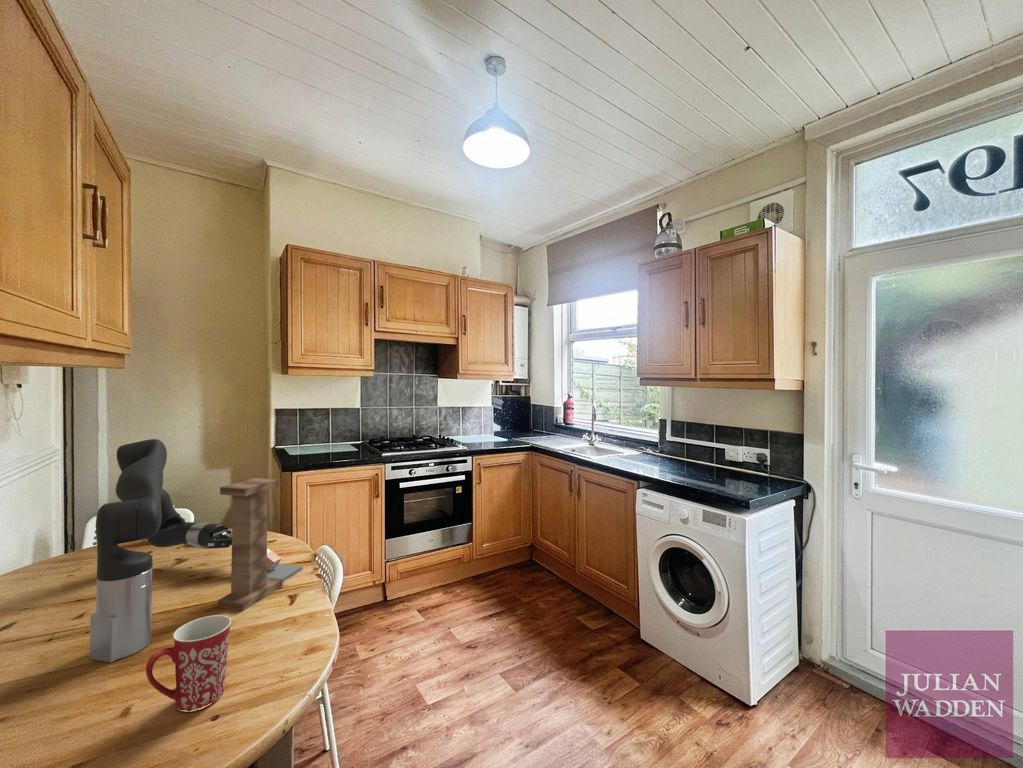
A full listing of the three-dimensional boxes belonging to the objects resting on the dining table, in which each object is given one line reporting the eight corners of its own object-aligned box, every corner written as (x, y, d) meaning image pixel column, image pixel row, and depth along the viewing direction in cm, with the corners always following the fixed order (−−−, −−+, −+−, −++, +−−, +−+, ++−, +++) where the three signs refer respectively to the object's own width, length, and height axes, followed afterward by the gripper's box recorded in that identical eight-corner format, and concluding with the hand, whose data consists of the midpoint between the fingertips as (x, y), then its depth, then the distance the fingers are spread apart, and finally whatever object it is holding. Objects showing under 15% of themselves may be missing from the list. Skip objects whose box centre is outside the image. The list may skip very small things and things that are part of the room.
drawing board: (281, 582, 125) (281, 579, 125) (237, 577, 128) (237, 573, 128) (302, 569, 134) (302, 566, 134) (260, 564, 137) (260, 561, 137)
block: (269, 570, 129) (273, 562, 129) (228, 537, 133) (232, 529, 132) (277, 566, 133) (281, 558, 132) (236, 534, 136) (241, 526, 135)
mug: (224, 674, 85) (225, 609, 85) (235, 698, 79) (236, 627, 79) (142, 708, 76) (144, 635, 76) (147, 738, 70) (149, 657, 70)
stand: (243, 610, 109) (245, 490, 109) (214, 606, 111) (216, 488, 111) (282, 586, 123) (284, 478, 123) (256, 583, 125) (258, 477, 125)
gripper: (186, 531, 129) (232, 535, 126) (226, 517, 143) (268, 521, 140) (186, 554, 129) (232, 560, 126) (225, 538, 143) (268, 543, 140)
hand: (251, 539), depth 133 cm, fingers closed on block, 3 cm apart
